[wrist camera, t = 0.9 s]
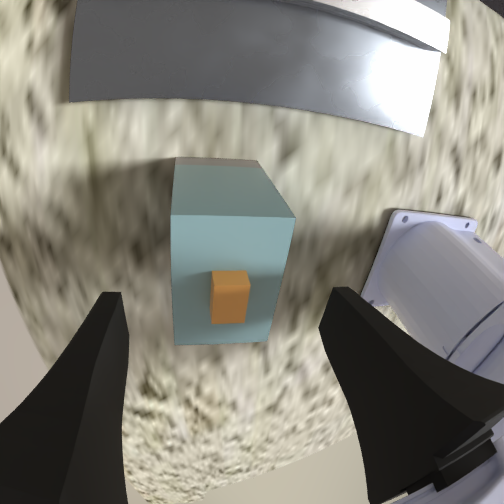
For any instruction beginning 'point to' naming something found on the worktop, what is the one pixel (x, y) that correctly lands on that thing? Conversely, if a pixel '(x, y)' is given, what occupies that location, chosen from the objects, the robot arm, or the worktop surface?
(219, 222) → the block
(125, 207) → the worktop surface
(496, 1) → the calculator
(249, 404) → the worktop surface
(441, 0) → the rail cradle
